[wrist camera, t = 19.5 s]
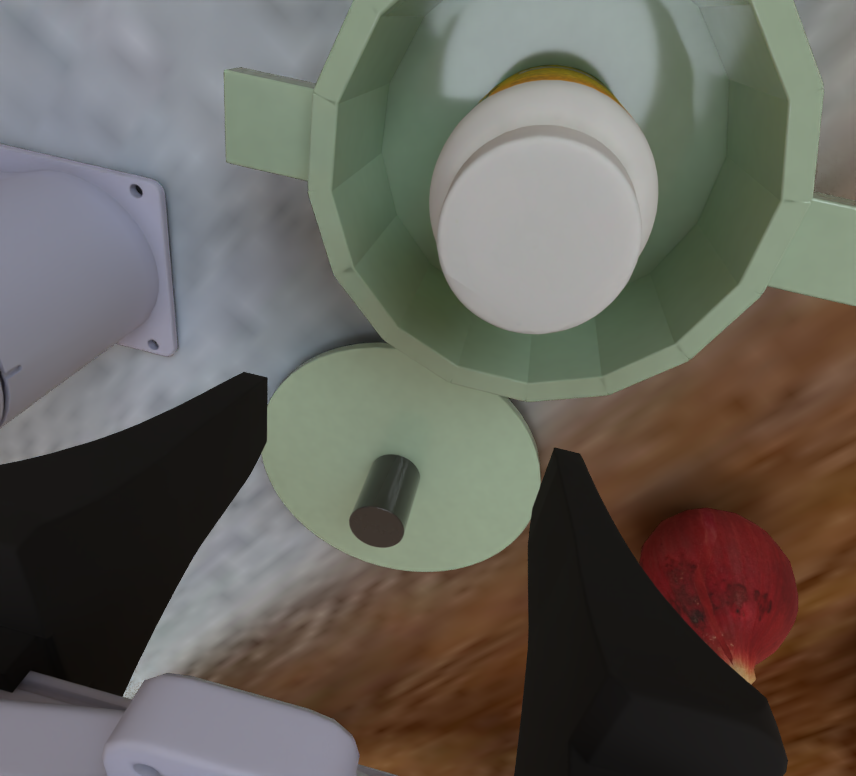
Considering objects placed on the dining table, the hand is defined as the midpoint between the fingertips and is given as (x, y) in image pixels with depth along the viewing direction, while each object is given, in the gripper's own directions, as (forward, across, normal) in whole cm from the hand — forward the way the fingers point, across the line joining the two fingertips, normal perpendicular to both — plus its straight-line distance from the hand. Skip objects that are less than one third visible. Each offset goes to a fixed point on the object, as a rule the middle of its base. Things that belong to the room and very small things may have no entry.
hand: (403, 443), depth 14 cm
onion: (+10, -13, +9) cm, 19 cm away
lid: (+10, +1, +10) cm, 14 cm away
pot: (+10, -2, -5) cm, 12 cm away
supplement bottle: (+10, -2, -5) cm, 12 cm away
